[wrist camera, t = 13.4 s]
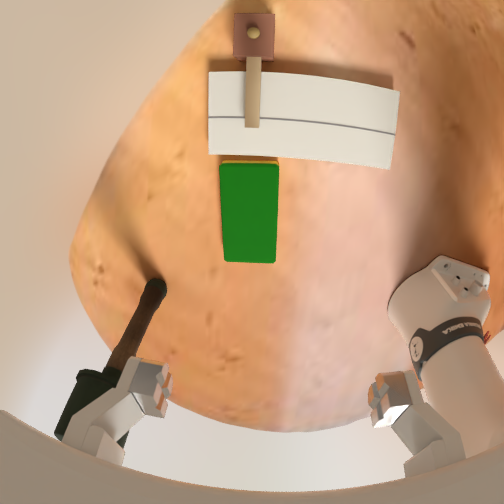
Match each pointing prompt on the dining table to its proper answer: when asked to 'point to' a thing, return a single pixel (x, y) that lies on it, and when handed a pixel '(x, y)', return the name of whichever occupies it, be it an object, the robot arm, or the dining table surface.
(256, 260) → the dish sponge
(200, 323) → the dining table surface
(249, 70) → the block
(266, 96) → the board
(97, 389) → the potato masher grenade
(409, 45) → the dining table surface
